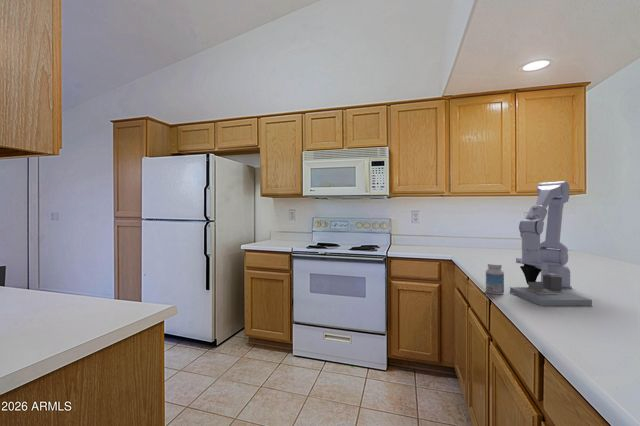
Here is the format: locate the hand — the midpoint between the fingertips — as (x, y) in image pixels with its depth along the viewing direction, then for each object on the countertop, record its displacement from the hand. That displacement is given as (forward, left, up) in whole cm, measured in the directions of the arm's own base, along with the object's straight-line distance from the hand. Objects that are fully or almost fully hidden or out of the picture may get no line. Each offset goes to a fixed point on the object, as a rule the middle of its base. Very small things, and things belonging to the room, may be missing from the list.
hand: (530, 284), depth 113 cm
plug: (-6, +3, -1) cm, 7 cm away
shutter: (+1, +7, -1) cm, 7 cm away
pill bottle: (+14, 0, -3) cm, 14 cm away
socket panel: (-1, +8, -3) cm, 8 cm away
